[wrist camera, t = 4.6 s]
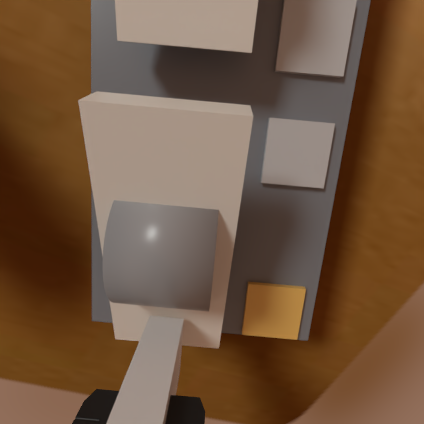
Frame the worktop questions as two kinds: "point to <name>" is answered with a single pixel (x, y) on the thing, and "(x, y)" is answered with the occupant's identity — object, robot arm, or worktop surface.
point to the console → (258, 144)
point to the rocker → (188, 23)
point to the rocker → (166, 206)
